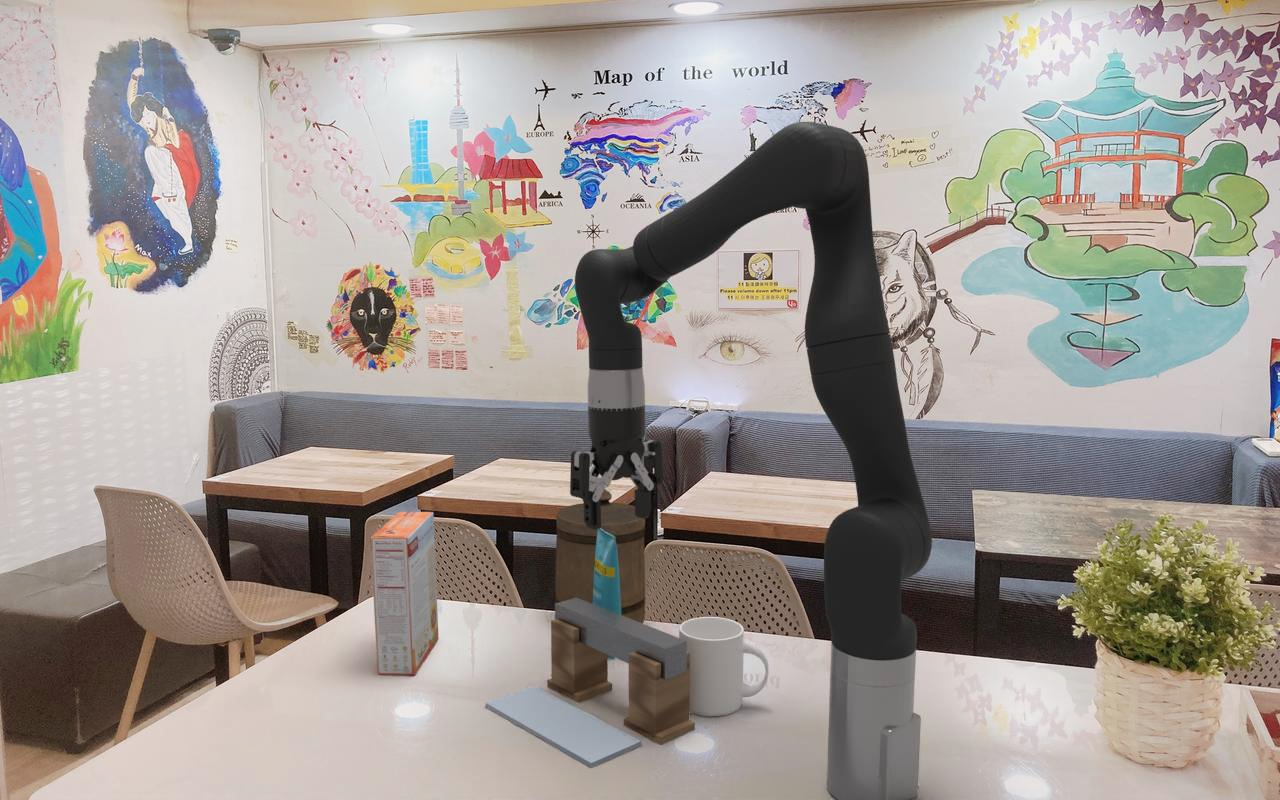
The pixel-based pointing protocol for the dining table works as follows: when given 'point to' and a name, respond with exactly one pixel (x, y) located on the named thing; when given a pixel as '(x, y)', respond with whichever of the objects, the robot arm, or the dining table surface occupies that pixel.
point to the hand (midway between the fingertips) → (618, 522)
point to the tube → (606, 574)
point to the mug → (718, 665)
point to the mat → (563, 726)
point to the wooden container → (581, 546)
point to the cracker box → (404, 592)
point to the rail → (623, 636)
